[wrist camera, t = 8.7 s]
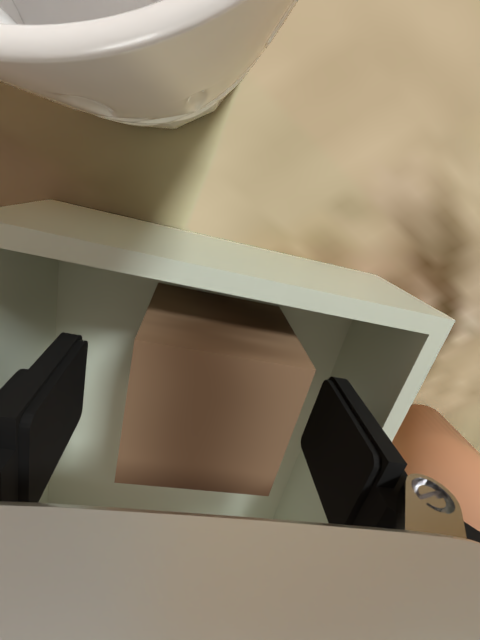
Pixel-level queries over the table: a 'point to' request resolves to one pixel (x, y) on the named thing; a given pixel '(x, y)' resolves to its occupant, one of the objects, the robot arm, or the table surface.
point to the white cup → (135, 53)
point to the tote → (208, 276)
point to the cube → (211, 394)
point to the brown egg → (441, 457)
